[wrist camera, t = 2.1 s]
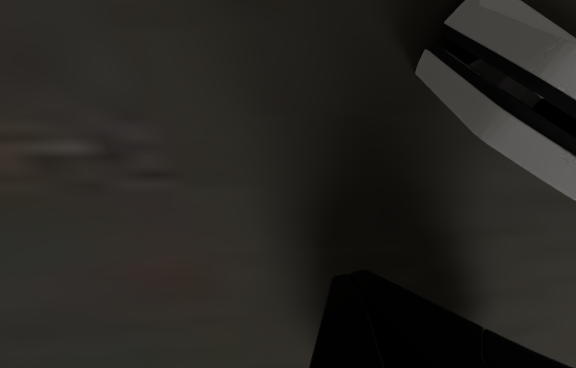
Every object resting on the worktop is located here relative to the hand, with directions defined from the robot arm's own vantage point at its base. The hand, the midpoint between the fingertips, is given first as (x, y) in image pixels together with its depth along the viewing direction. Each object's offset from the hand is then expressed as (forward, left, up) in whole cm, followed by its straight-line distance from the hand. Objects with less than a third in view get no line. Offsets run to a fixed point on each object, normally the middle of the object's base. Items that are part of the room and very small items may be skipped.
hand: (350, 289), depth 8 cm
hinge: (0, -14, -11) cm, 17 cm away
